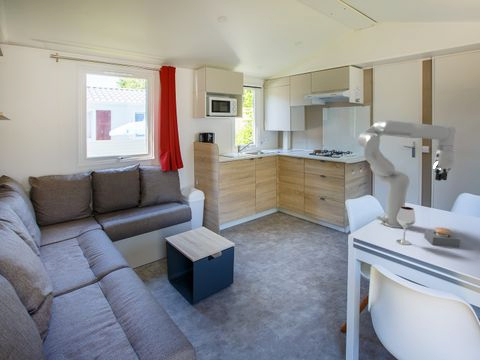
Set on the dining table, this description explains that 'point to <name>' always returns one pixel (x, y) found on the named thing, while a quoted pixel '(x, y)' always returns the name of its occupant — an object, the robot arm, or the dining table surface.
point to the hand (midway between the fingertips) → (440, 179)
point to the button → (442, 232)
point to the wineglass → (405, 221)
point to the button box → (442, 239)
